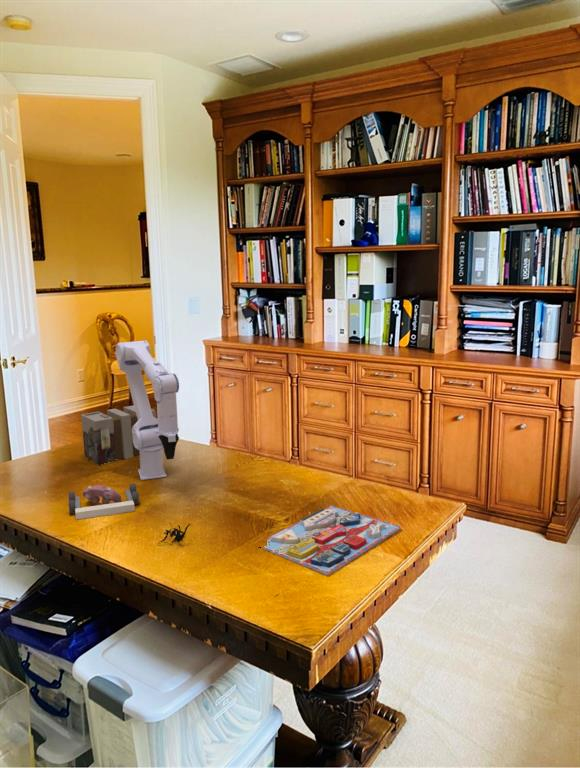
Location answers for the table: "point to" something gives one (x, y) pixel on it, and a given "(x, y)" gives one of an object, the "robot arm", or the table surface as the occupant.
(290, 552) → the puzzle board
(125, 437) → the bookend
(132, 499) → the chassis
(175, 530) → the creature
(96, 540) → the table surface
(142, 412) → the robot arm
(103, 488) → the pink toy figurine
